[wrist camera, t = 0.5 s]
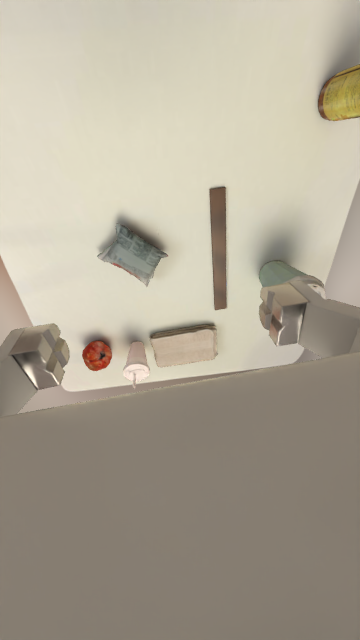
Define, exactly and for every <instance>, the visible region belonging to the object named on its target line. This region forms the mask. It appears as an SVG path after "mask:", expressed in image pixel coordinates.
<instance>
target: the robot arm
mask: <svg viewBox="0 0 360 640" xmlns="http://www.w3.org/2000/svg"><path fill="white" fill-rule="evenodd" d="M260 298H261V299H262V300H263V302H262V304H261V305H260V306H259V316H260V321H261V323H262V325H263V327H264V328H265V329H267V330H269V336H270V337H271V339H272V340H273V342H274V343H275V345H276V346H281V345H288V344H294V343H298V344H299V345H301V346H303V347H304V348H306V349H308V350H310V351H311V352H313V353H315V354H317V355H318V356H320V357H322V358H321V359H316V360H310V361H305V362H299V363H294V364H288V365H283V366H277V367H272V368H266V369H261V370H255V371H250V372H245V373H239V374H233V375H228V376H223V377H217V378H211V379H206V380H201V381H196V382H190V383H184V384H179V385H174V386H168V387H162V388H157V389H152V390H146V391H141V392H136V393H130V394H124V395H119V396H114V397H108V398H102V399H97V400H91V401H86V402H80V403H75V404H69V405H65V406H59V407H53V408H48V409H42V410H36V411H31V412H26V413H20V414H17V413H18V412H19V411H20V410H21V408H23V407H24V405H25V404H26V403H27V402H28V401H29V400H30V399H31V398H32V397H33V396H34V395H35V393H36V392H37V390H40V389H44V388H49V387H54V386H59V385H60V384H61V381H62V379H63V376H64V373H65V371H64V370H63V367H64V366H65V365H66V364H67V363H68V361H69V348H68V345H67V343H66V341H65V340H63V339H62V338H60V337H59V335H60V330H59V328H58V326H57V325H55V324H54V323H53V324H46V325H40V326H33V327H28V328H20V329H15V330H13V331H11V332H10V334H9V335H8V336H7V338H6V339H5V341H4V342H3V344H2V345H1V346H0V640H360V308H359V307H356V306H352V305H348V304H345V303H341V302H338V301H335V300H331V299H324V298H322V297H321V296H320V295H319V294H318V293H317V292H315V291H314V290H313V289H312V288H311V287H309V286H308V285H307V284H306V283H305V282H304V281H302V280H296V281H292V282H287V283H282V284H277V285H272V286H267V287H263V288H262V289H261V293H260Z"/></svg>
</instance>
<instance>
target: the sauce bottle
mask: <svg viewBox="0 0 360 640" xmlns="http://www.w3.org/2000/svg"><path fill="white" fill-rule="evenodd" d="M318 108H319V112H320V115H321V116H322V117H323V118H324V119H326V120H333V121H338V120H344V119H351V118H358V117H360V64H359V65H356V66H354V67H351V68H349V69H346V70H344V71H341V72H339V73H338V74H336V75H335V76H333V77H332V78H331V79H329V80H328V81H327V82H326V84H325V85H324V87H323V89H322V91H321V94H320V96H319V101H318Z"/></svg>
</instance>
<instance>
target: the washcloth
mask: <svg viewBox="0 0 360 640" xmlns="http://www.w3.org/2000/svg"><path fill="white" fill-rule="evenodd" d="M149 338H150V342H151V345H152V346H153V348H154V352H155V360H156V362H157V366H158V367H168V366H172V365H181V364H187V363H193V362H199V361H206V360H213V359H215V357H216V356H217V355H218V353H217V338H216V329H215V326H209V325H201V326H196V327H191V328H183V329H177V330H172V331H166V332H160V333H155V334H152V335H151V336H150V337H149Z"/></svg>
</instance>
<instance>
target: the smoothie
mask: <svg viewBox="0 0 360 640" xmlns="http://www.w3.org/2000/svg"><path fill="white" fill-rule="evenodd" d="M123 371H124V372H123V373H124V376H125V377H126V378H127V379H128V380H130V381H133V389H135V386H136V381H142V380H144V379H146V378H147V377H148V376H149V371H150V368H149V366H148V364H147V359H146V354H145V349H144V345H143V343H141V342H138V341H136V342H133V343H132V344H131V346H130V350H129V354H128V358H127V362H126V365H125V367H124V370H123Z"/></svg>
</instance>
